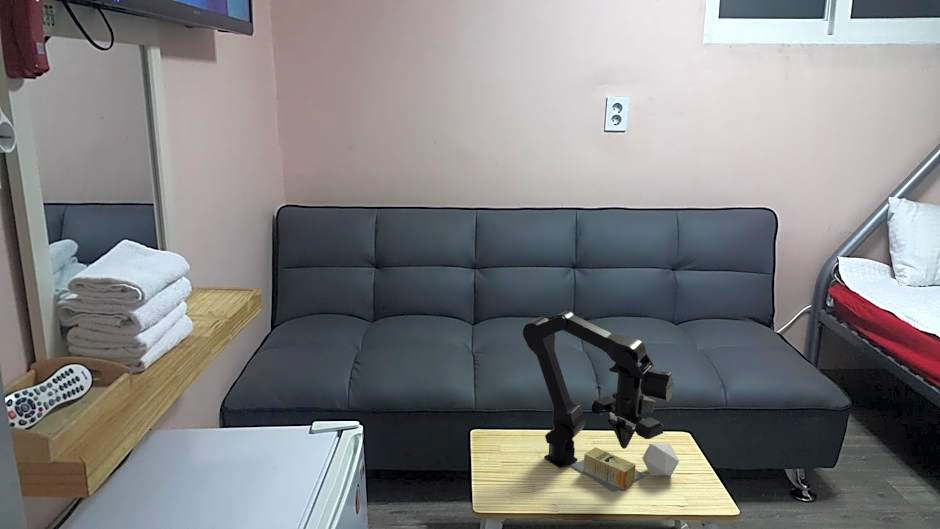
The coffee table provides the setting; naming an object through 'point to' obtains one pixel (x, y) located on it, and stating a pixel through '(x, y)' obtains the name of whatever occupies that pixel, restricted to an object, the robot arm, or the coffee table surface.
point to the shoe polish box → (609, 468)
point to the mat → (580, 467)
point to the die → (660, 459)
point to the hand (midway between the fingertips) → (624, 447)
